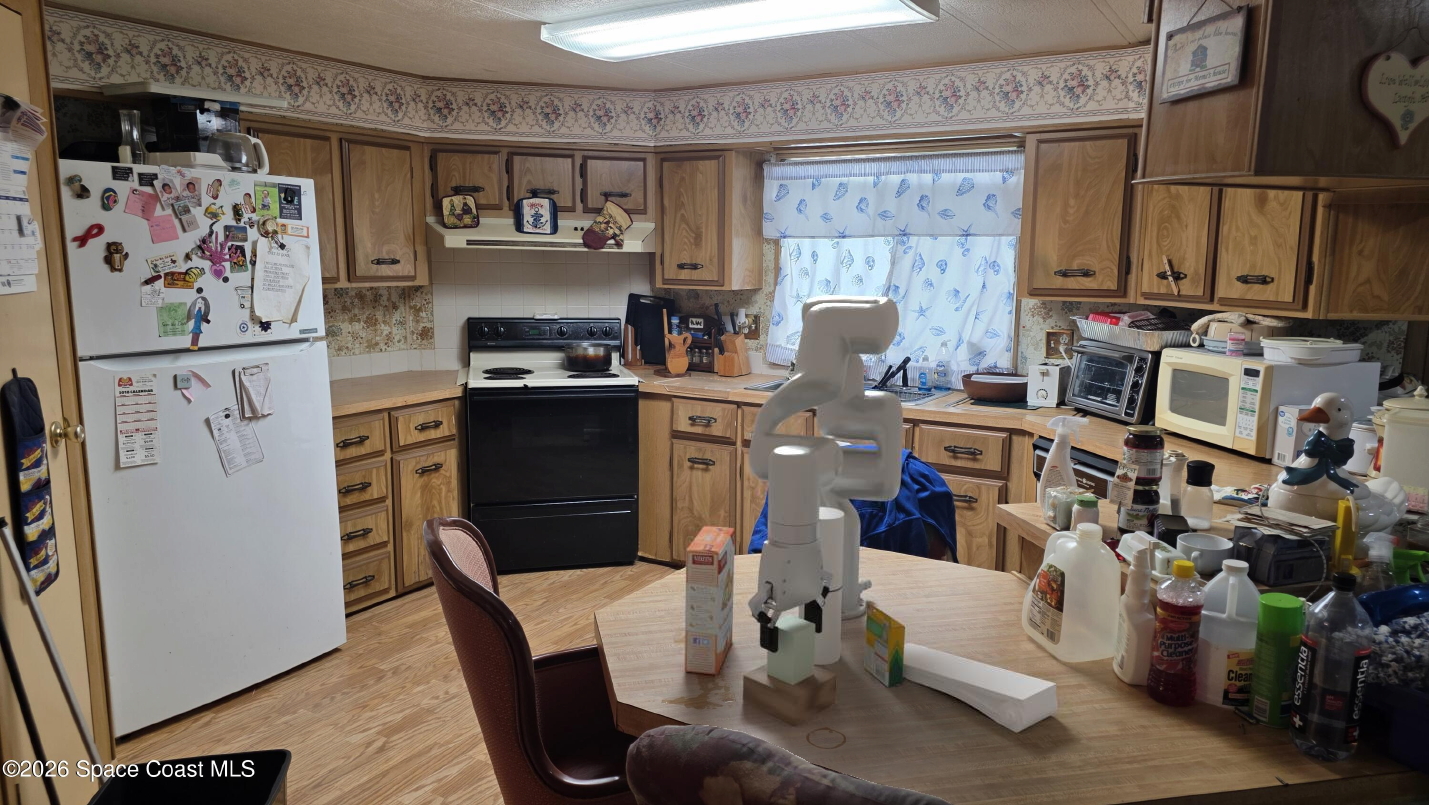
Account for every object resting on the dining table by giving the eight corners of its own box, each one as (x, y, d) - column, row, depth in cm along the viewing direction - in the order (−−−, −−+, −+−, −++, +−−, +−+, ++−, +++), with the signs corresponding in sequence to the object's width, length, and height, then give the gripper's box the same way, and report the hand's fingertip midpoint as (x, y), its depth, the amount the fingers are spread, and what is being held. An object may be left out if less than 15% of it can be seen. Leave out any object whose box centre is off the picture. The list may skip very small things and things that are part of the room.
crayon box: (903, 684, 142) (906, 615, 140) (887, 687, 141) (890, 617, 139) (879, 665, 149) (881, 598, 147) (863, 668, 148) (865, 601, 146)
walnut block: (785, 683, 143) (785, 654, 142) (836, 705, 136) (836, 674, 135) (742, 706, 136) (743, 674, 135) (794, 730, 129) (795, 697, 128)
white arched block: (879, 698, 149) (1026, 751, 127) (869, 660, 148) (1016, 706, 125) (917, 668, 155) (1064, 713, 133) (907, 631, 154) (1054, 670, 131)
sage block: (788, 663, 139) (789, 614, 137) (813, 674, 135) (815, 624, 134) (767, 674, 135) (768, 623, 134) (792, 685, 132) (794, 633, 130)
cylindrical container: (812, 668, 147) (816, 521, 143) (789, 651, 154) (792, 510, 150) (848, 659, 151) (853, 515, 147) (824, 643, 157) (828, 505, 153)
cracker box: (719, 677, 144) (720, 552, 141) (683, 673, 145) (683, 549, 142) (735, 641, 158) (736, 526, 154) (701, 638, 159) (702, 524, 156)
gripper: (812, 513, 140) (810, 616, 143) (733, 537, 128) (732, 649, 131) (850, 524, 135) (847, 631, 137) (770, 550, 123) (769, 666, 126)
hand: (791, 639), depth 134 cm, fingers open, 9 cm apart
